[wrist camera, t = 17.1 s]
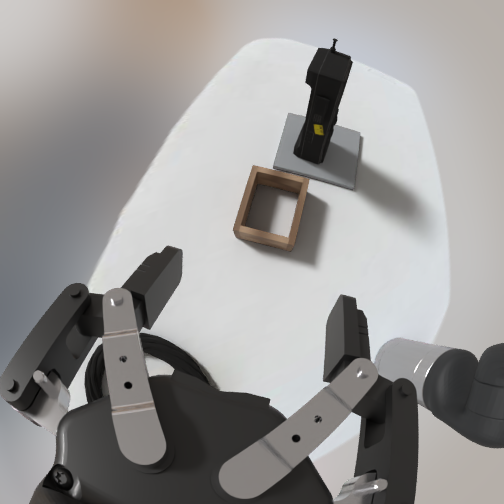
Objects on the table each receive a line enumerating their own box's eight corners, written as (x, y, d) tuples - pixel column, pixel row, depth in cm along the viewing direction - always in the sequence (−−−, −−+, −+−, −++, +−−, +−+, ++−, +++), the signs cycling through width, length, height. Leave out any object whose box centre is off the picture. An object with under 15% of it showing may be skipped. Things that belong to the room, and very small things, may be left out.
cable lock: (116, 301, 43) (258, 403, 39) (126, 302, 47) (258, 396, 43) (65, 402, 40) (181, 492, 36) (75, 398, 43) (185, 482, 39)
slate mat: (359, 135, 52) (360, 132, 51) (352, 189, 49) (354, 187, 48) (287, 115, 53) (288, 112, 52) (273, 168, 50) (273, 165, 50)
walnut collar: (305, 190, 49) (309, 179, 44) (290, 251, 47) (294, 245, 42) (253, 177, 50) (252, 165, 45) (235, 237, 48) (232, 229, 43)
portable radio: (320, 170, 49) (356, 76, 24) (290, 159, 50) (307, 60, 25) (330, 140, 50) (364, 47, 26) (302, 130, 51) (321, 33, 26)
